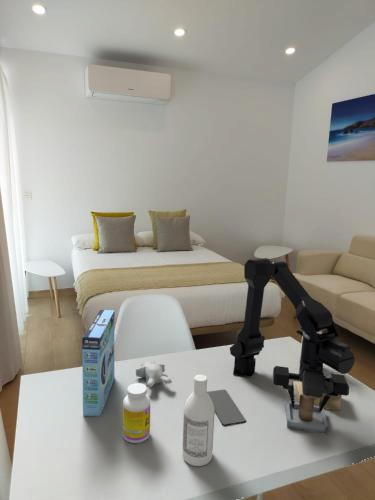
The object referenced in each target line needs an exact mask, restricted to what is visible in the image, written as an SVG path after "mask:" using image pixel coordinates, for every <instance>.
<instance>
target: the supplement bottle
mask: <svg viewBox="0 0 375 500" xmlns="http://www.w3.org/2000/svg"><path fill="white" fill-rule="evenodd" d="M147 389H148V387H146V385H145V384H143V383H140V382H139V383H137V382H136V383H132V384H129V386H128V387H127V391H126V393H127V394H126V396H125V397H124V398H123V402H122V407H123V409H122V435H123V436H122V437H123V438H124V440H125V441H127V442H129V443H130V444H131V443H132V444H139V443H143V442H145V441H146V440H147V439H148V438H149V437H150V435H151V398H150V396H149V395H148V394H147V393H148V392H147Z"/></svg>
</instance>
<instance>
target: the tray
mask: <svg viewBox="0 0 375 500" xmlns="http://www.w3.org/2000/svg"><path fill="white" fill-rule="evenodd" d="M299 404H300V403H299V402H295V401H294V407H292V403H291V401H288V400H286V401H285V418H286V420H285V421H286V429H291V430H296V431H297V430H298V431H303V432H309V433H315V434H321V435H326V436H328V432H329V426H328V421H327V417H326V413H325V408H323V409H322V411H321V412H320V411H319V405H314V408H313V419H312V421H310V422H305V421H302V420H301V419H300V418H299Z"/></svg>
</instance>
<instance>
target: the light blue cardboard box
mask: <svg viewBox="0 0 375 500" xmlns="http://www.w3.org/2000/svg"><path fill="white" fill-rule="evenodd" d="M115 312H116V311H115V310H113V309H112V310H111V309H99V310H98V313H97V314H96V315H95V317H94V319H93V320H92V321H91V323H90V325H89V326H88V327H87V329H86V331H85V333H84V334H83V335H82V337H81V338H82V339H81V342H82V343H81V344H82V348H81V349H82V352H81V353H82V362H81V363H82V416H83V417H101V415H102V412H103V410H104V408H105V404H106V402H107V399H108V396H109V394H110V391H111V388H112V385H113V383H114V381H115V377H116V375H115Z"/></svg>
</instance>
